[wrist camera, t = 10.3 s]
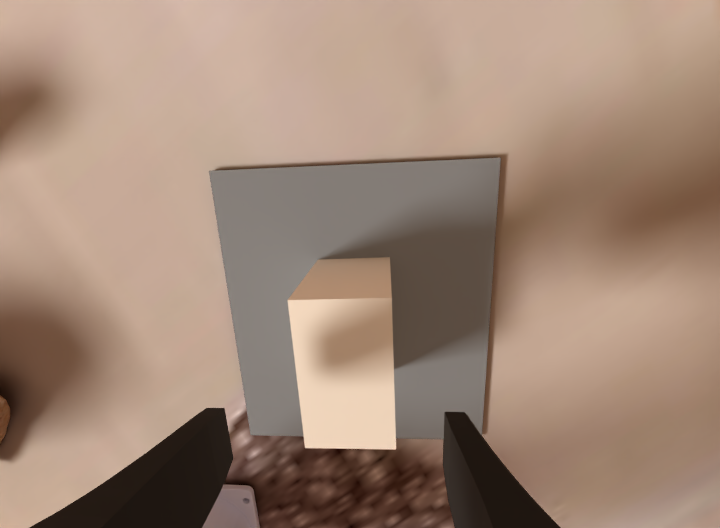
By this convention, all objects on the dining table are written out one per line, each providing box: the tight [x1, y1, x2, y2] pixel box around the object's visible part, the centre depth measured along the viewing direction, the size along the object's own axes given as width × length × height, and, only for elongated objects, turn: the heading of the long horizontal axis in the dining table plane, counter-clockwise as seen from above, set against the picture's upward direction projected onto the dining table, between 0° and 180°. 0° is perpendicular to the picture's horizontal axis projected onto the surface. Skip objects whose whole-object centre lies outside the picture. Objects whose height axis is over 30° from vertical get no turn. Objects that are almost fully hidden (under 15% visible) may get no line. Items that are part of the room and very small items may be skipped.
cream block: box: [288, 257, 396, 449], centre depth 17 cm, size 4×7×6 cm, turn 3°
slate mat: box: [209, 158, 501, 439], centre depth 20 cm, size 17×15×1 cm
